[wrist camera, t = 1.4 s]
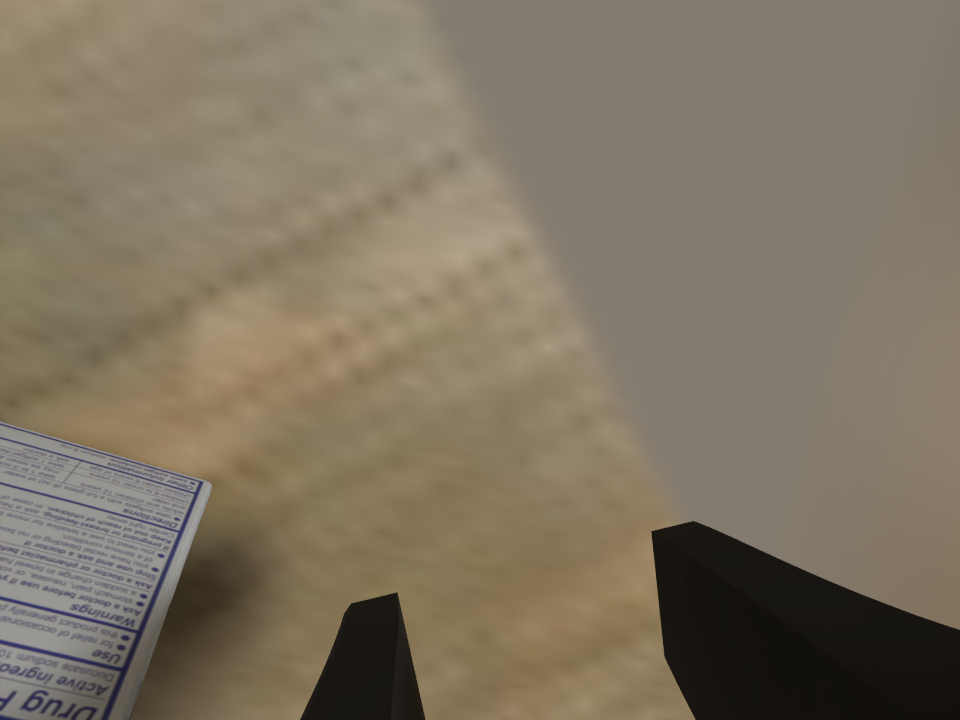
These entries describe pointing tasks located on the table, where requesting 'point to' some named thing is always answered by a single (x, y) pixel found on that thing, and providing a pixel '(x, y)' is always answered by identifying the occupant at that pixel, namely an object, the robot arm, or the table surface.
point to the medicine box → (85, 573)
